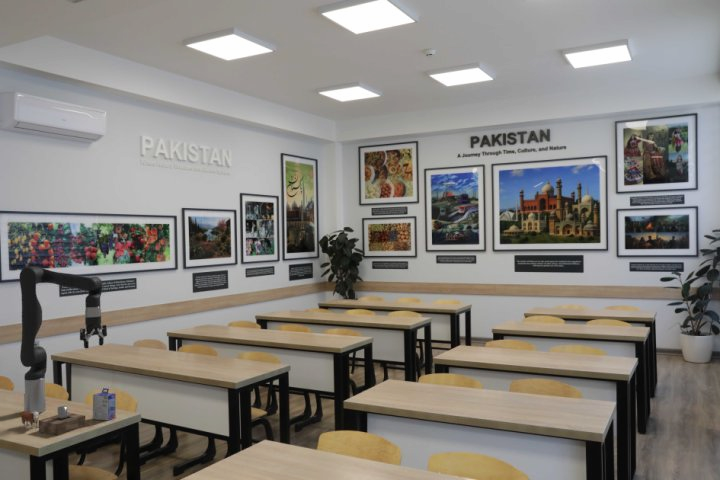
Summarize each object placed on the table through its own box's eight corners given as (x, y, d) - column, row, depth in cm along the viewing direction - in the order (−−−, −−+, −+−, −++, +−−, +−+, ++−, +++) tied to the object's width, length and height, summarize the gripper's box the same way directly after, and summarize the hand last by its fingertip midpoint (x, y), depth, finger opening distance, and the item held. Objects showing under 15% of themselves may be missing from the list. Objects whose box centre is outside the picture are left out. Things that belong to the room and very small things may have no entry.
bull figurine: (34, 431, 265) (34, 413, 265) (19, 426, 272) (18, 409, 272) (43, 428, 269) (43, 411, 269) (28, 423, 276) (28, 407, 276)
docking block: (38, 431, 265) (38, 420, 265) (66, 422, 277) (66, 412, 277) (58, 435, 258) (57, 424, 258) (85, 426, 271) (85, 415, 271)
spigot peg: (56, 427, 267) (55, 408, 267) (63, 424, 270) (63, 405, 270) (61, 428, 265) (61, 409, 265) (69, 425, 269) (69, 406, 268)
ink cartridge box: (116, 417, 283) (116, 388, 283) (108, 421, 278) (107, 391, 278) (100, 416, 286) (100, 387, 286) (92, 419, 281) (91, 390, 281)
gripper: (100, 313, 304) (100, 344, 304) (76, 317, 291) (76, 348, 291) (109, 314, 300) (110, 344, 300) (85, 317, 288) (86, 349, 288)
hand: (93, 346), depth 296 cm, fingers open, 8 cm apart
